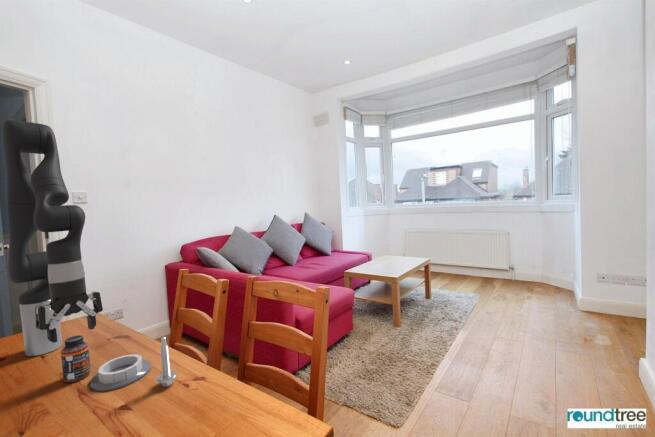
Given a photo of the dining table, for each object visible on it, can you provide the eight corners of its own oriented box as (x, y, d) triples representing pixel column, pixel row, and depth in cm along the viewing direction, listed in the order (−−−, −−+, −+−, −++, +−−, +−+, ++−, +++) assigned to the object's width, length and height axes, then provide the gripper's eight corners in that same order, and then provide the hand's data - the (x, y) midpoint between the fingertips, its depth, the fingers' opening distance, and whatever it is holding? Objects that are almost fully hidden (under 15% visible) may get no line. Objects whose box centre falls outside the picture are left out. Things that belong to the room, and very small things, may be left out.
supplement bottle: (75, 384, 81) (71, 344, 81) (57, 382, 83) (53, 342, 82) (96, 371, 87) (92, 333, 86) (79, 370, 88) (75, 332, 88)
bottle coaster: (80, 382, 82) (78, 371, 82) (133, 357, 94) (132, 347, 94) (107, 397, 75) (106, 384, 75) (161, 368, 88) (160, 357, 87)
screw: (164, 378, 82) (181, 378, 82) (152, 389, 78) (170, 389, 77) (160, 332, 82) (177, 332, 81) (148, 340, 77) (166, 340, 76)
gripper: (90, 271, 91) (96, 323, 92) (26, 283, 79) (34, 344, 80) (103, 272, 87) (109, 327, 88) (38, 286, 75) (46, 349, 76)
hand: (73, 335), depth 84 cm, fingers open, 8 cm apart
